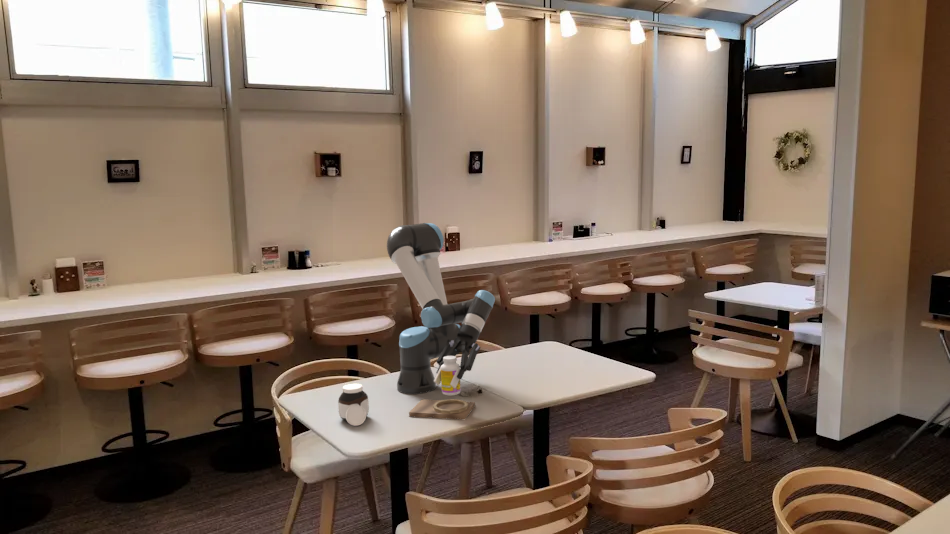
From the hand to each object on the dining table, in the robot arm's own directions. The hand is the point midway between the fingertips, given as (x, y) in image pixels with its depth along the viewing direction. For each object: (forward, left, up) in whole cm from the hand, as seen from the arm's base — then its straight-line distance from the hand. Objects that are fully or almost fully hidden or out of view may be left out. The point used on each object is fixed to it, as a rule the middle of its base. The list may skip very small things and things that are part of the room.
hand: (444, 384), depth 252 cm
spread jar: (-29, -10, -11) cm, 33 cm away
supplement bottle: (+1, +3, -4) cm, 6 cm away
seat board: (-2, +4, -11) cm, 12 cm away
